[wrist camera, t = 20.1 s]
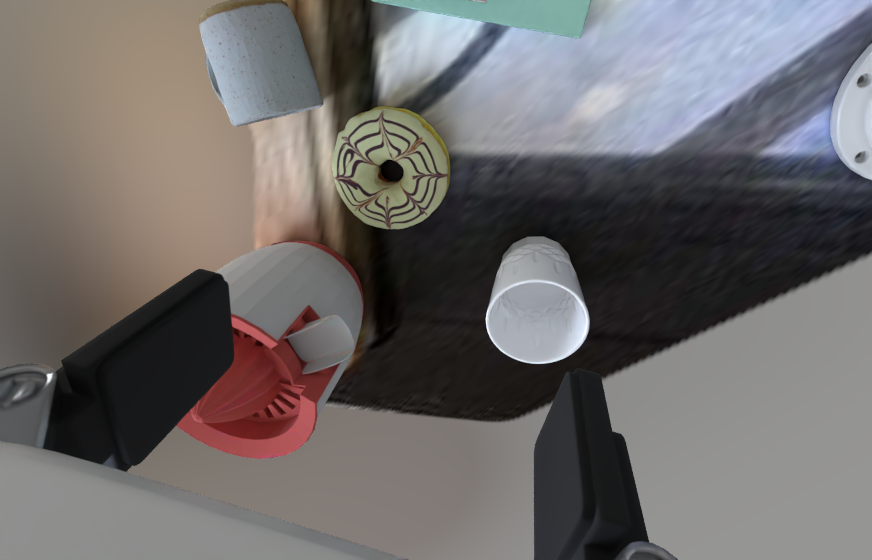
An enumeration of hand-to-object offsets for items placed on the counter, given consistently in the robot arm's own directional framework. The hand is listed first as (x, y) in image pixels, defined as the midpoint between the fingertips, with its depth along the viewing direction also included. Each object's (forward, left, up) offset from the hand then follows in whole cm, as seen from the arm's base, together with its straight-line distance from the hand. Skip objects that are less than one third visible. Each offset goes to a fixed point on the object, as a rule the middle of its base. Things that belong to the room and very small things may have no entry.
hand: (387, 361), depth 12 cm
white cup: (-7, +11, -30) cm, 33 cm away
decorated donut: (+8, +4, -30) cm, 32 cm away
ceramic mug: (+20, -2, -30) cm, 36 cm away
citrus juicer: (+15, +19, -30) cm, 39 cm away
